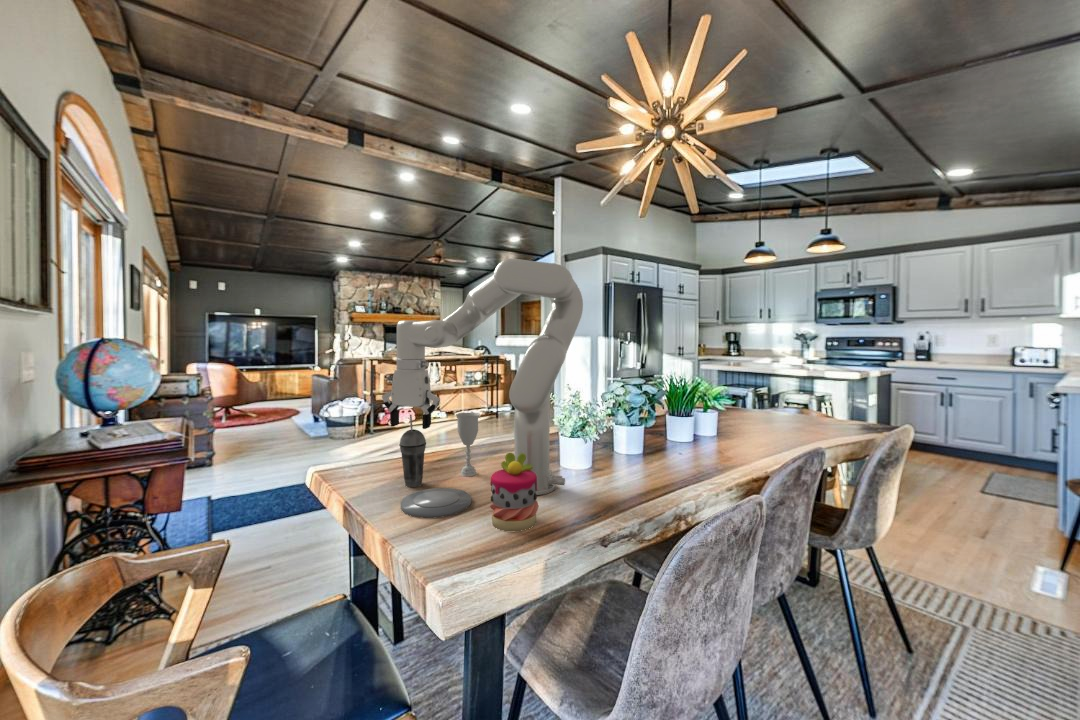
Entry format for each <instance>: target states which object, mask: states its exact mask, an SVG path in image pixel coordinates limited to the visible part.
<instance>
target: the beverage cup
mask: <svg viewBox="0 0 1080 720" xmlns="http://www.w3.org/2000/svg"><path fill="white" fill-rule="evenodd" d="M409 420H410V421H409V422H410V423H409V424H410V429H409V430H407V431H405V432H404V433H403V434H402V435H401V437H400V441H399V444H398V445H399V449H400V454H401V461H402V471H403V479H404V483H405V484H404V485H405V487H406V486H407V488H418V487H420V485H421V486H422V484H423V475H424V461H425V451H426V445H427V442H426V438H425V435H424V434H423V432H422V431H420V430H418V429H415V428H413V417H412V414H409ZM417 486H418V487H417Z"/></svg>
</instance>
